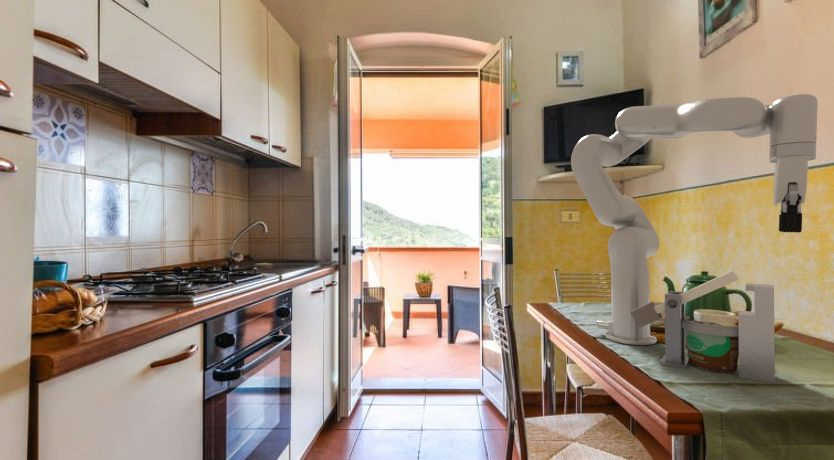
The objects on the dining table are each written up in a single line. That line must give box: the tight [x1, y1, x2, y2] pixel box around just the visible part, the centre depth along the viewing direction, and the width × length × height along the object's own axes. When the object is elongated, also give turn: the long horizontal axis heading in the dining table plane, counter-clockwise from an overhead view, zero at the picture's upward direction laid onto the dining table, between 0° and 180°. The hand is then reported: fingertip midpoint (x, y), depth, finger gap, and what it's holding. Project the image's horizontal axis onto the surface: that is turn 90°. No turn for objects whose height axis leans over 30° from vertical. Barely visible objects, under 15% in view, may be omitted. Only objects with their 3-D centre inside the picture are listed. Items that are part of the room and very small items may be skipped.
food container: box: [681, 315, 739, 373], centre depth 90 cm, size 12×6×10 cm, turn 21°
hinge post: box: [659, 290, 690, 370], centre depth 94 cm, size 5×8×16 cm, turn 139°
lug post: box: [737, 283, 776, 384], centre depth 84 cm, size 6×5×19 cm
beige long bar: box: [630, 270, 739, 327], centre depth 93 cm, size 22×4×4 cm
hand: (789, 232), depth 89 cm, fingers open, 9 cm apart
